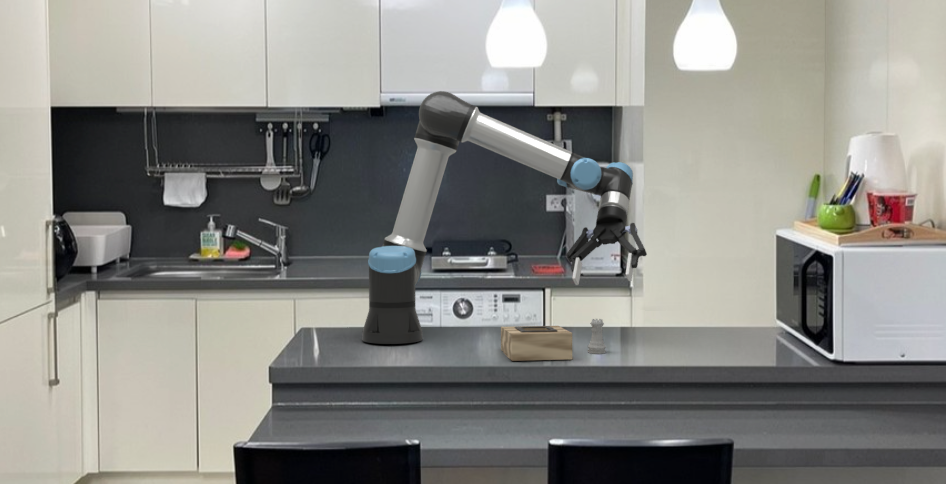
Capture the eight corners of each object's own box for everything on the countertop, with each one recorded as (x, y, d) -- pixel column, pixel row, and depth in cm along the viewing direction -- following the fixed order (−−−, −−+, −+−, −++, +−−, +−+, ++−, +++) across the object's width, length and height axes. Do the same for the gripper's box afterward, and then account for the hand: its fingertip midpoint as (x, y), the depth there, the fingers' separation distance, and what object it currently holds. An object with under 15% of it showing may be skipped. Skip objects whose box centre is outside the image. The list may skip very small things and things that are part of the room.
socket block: (500, 351, 231) (500, 325, 231) (557, 350, 233) (557, 324, 233) (511, 360, 217) (511, 332, 217) (572, 359, 219) (572, 331, 219)
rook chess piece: (605, 355, 226) (606, 321, 225) (586, 354, 226) (586, 320, 226) (606, 351, 230) (607, 318, 229) (588, 350, 231) (588, 317, 230)
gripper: (664, 218, 244) (655, 285, 232) (571, 227, 255) (558, 292, 242) (656, 198, 239) (647, 266, 226) (562, 209, 250) (548, 274, 237)
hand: (601, 279), depth 234 cm, fingers open, 13 cm apart
